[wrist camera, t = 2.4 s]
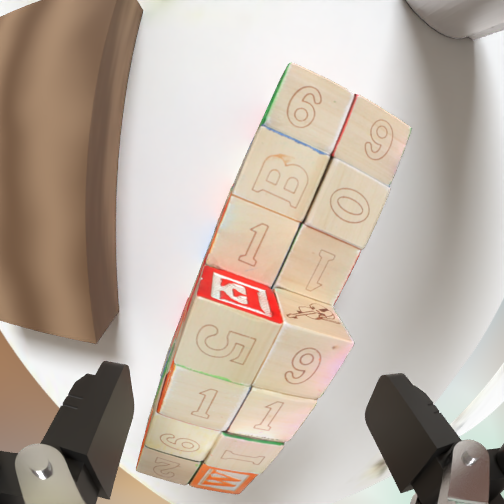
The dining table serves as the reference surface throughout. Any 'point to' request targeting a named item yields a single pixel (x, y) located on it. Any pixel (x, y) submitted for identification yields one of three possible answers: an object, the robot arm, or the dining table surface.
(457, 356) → the dining table surface
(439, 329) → the dining table surface
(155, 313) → the dining table surface
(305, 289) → the stack of blocks
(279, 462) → the dining table surface
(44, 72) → the walnut block
